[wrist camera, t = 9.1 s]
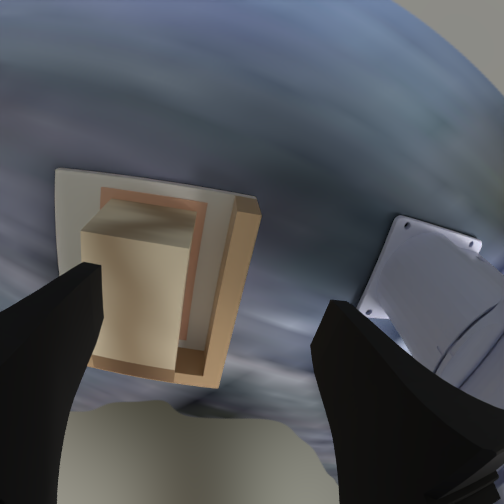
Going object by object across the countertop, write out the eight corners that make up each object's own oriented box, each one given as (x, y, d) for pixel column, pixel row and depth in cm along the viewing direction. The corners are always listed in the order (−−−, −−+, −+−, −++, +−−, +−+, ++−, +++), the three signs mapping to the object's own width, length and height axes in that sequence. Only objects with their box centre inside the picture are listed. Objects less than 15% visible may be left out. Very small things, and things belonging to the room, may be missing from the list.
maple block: (197, 211, 17) (189, 248, 13) (180, 333, 21) (173, 382, 17) (111, 198, 16) (80, 230, 12) (111, 320, 20) (93, 367, 16)
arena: (255, 196, 18) (261, 215, 15) (217, 358, 23) (218, 388, 21) (59, 167, 16) (33, 181, 13) (70, 332, 21) (58, 358, 19)
